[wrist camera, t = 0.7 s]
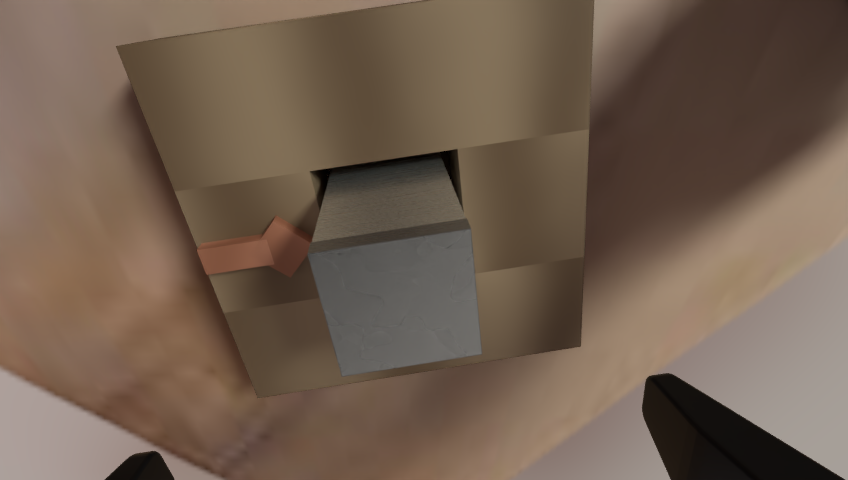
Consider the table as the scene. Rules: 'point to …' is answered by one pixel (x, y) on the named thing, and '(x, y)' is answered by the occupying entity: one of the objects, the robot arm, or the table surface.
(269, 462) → the table surface
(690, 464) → the robot arm
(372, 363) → the column
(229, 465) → the table surface
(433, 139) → the stand block
